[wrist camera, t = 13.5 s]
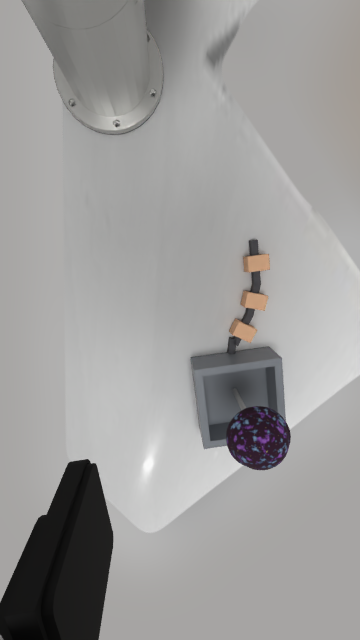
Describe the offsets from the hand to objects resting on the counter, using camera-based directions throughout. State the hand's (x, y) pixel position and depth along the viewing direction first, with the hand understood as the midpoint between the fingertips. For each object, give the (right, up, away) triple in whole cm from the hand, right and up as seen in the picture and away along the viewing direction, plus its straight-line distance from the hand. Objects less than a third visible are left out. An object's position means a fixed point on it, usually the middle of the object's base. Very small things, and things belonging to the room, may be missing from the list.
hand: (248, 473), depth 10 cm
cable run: (+7, +8, +34) cm, 35 cm away
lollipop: (+6, -5, +35) cm, 36 cm away
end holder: (+6, -6, +36) cm, 37 cm away
